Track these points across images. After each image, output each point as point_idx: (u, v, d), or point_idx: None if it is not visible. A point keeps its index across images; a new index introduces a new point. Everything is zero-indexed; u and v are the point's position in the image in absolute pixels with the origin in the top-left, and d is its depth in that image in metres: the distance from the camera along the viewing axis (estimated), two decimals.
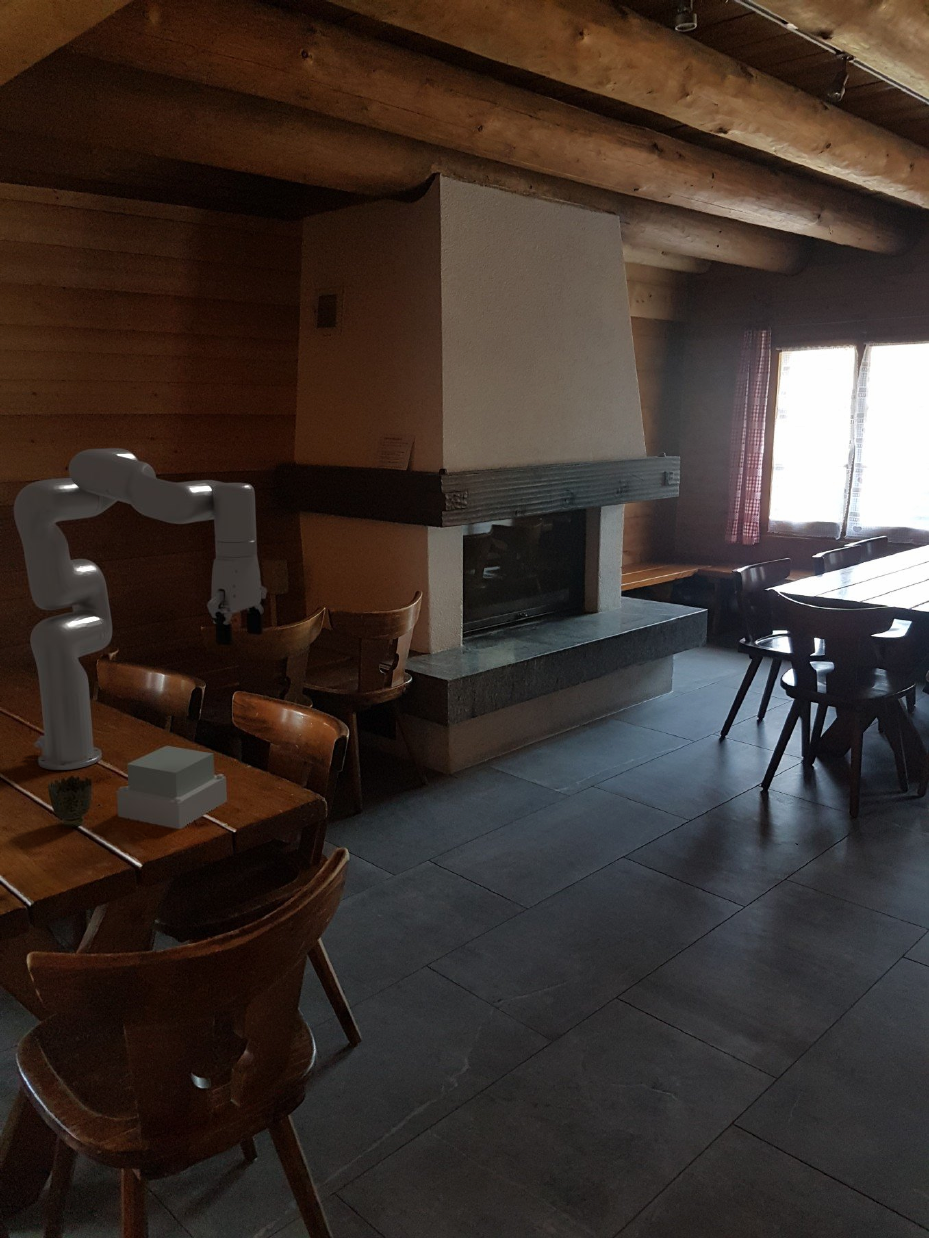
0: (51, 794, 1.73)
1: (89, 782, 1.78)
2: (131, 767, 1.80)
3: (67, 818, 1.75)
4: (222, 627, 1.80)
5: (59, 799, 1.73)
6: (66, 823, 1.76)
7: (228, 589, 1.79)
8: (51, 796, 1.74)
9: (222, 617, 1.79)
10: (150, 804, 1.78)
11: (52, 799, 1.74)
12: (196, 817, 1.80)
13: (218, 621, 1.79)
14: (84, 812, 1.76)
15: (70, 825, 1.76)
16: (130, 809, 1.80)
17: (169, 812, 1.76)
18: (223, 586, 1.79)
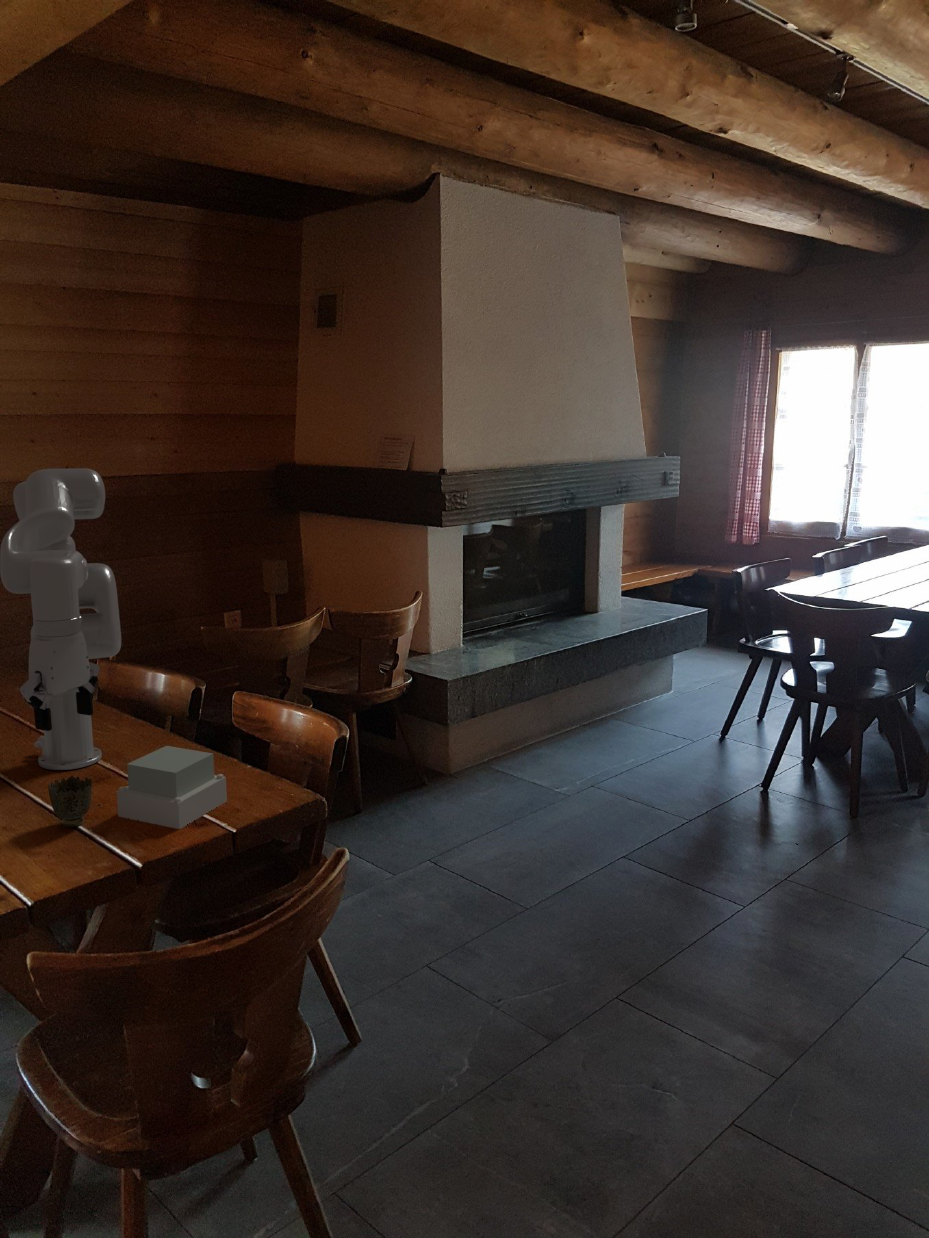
0: (51, 794, 1.73)
1: (89, 782, 1.78)
2: (131, 767, 1.80)
3: (67, 818, 1.75)
4: (40, 712, 1.67)
5: (59, 799, 1.73)
6: (66, 823, 1.76)
7: (45, 672, 1.66)
8: (51, 796, 1.74)
9: (38, 701, 1.66)
10: (150, 804, 1.78)
11: (52, 799, 1.74)
12: (196, 817, 1.80)
13: (34, 706, 1.66)
14: (84, 812, 1.76)
15: (70, 825, 1.76)
16: (130, 809, 1.80)
17: (169, 812, 1.76)
18: (40, 668, 1.66)
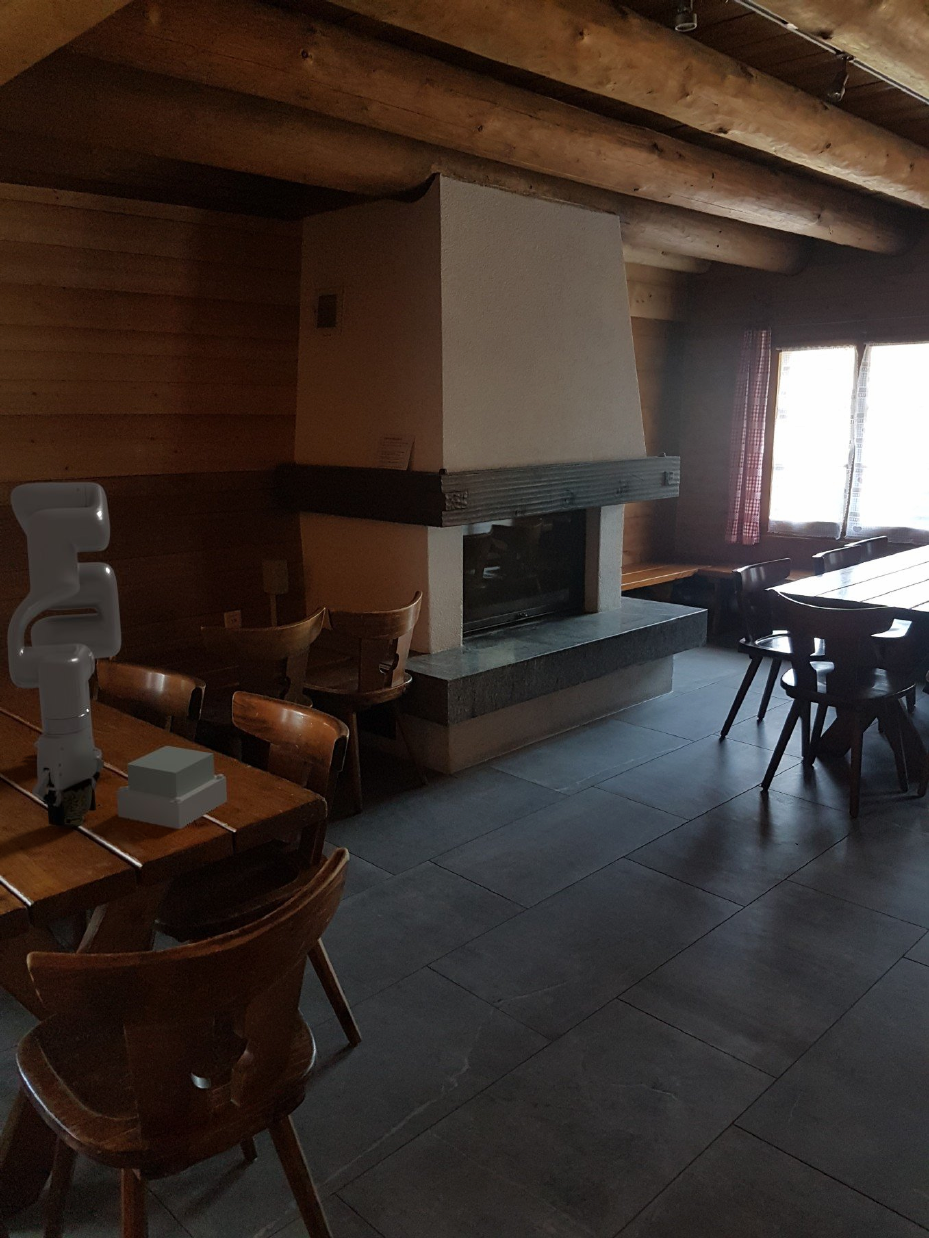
0: None
1: (89, 782, 1.78)
2: (131, 767, 1.80)
3: (67, 818, 1.75)
4: (53, 809, 1.72)
5: None
6: (66, 823, 1.76)
7: (53, 768, 1.70)
8: None
9: (52, 799, 1.71)
10: (150, 804, 1.78)
11: None
12: (196, 817, 1.80)
13: (48, 803, 1.71)
14: (84, 812, 1.76)
15: (70, 825, 1.76)
16: (130, 809, 1.80)
17: (169, 812, 1.76)
18: (47, 767, 1.70)
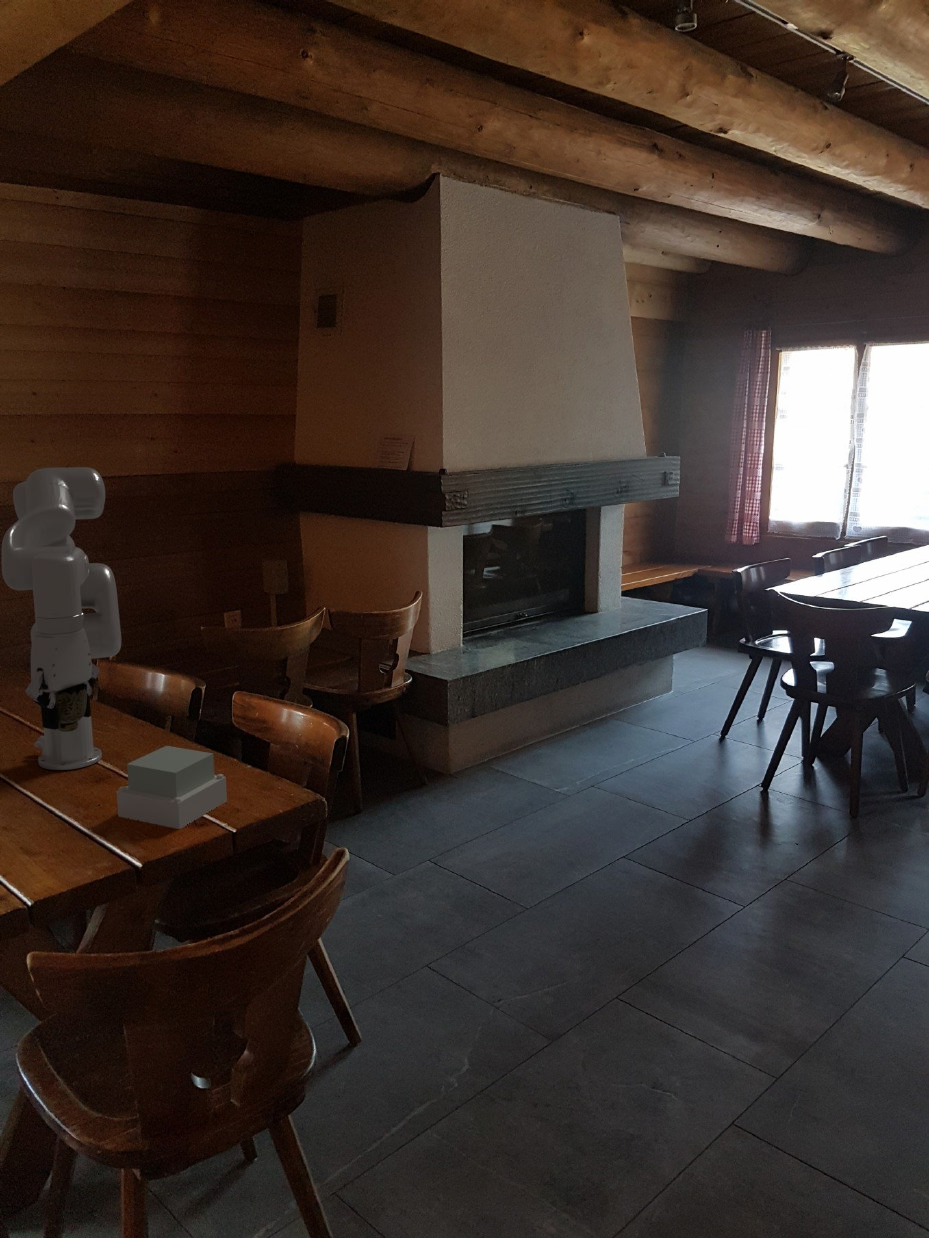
0: None
1: (84, 687, 1.75)
2: (131, 767, 1.80)
3: (61, 722, 1.71)
4: (47, 711, 1.69)
5: None
6: (60, 727, 1.72)
7: (47, 669, 1.67)
8: None
9: (46, 700, 1.68)
10: (150, 804, 1.78)
11: None
12: (196, 817, 1.80)
13: (41, 705, 1.68)
14: (79, 716, 1.72)
15: (64, 729, 1.72)
16: (130, 809, 1.80)
17: (169, 812, 1.76)
18: (41, 667, 1.67)
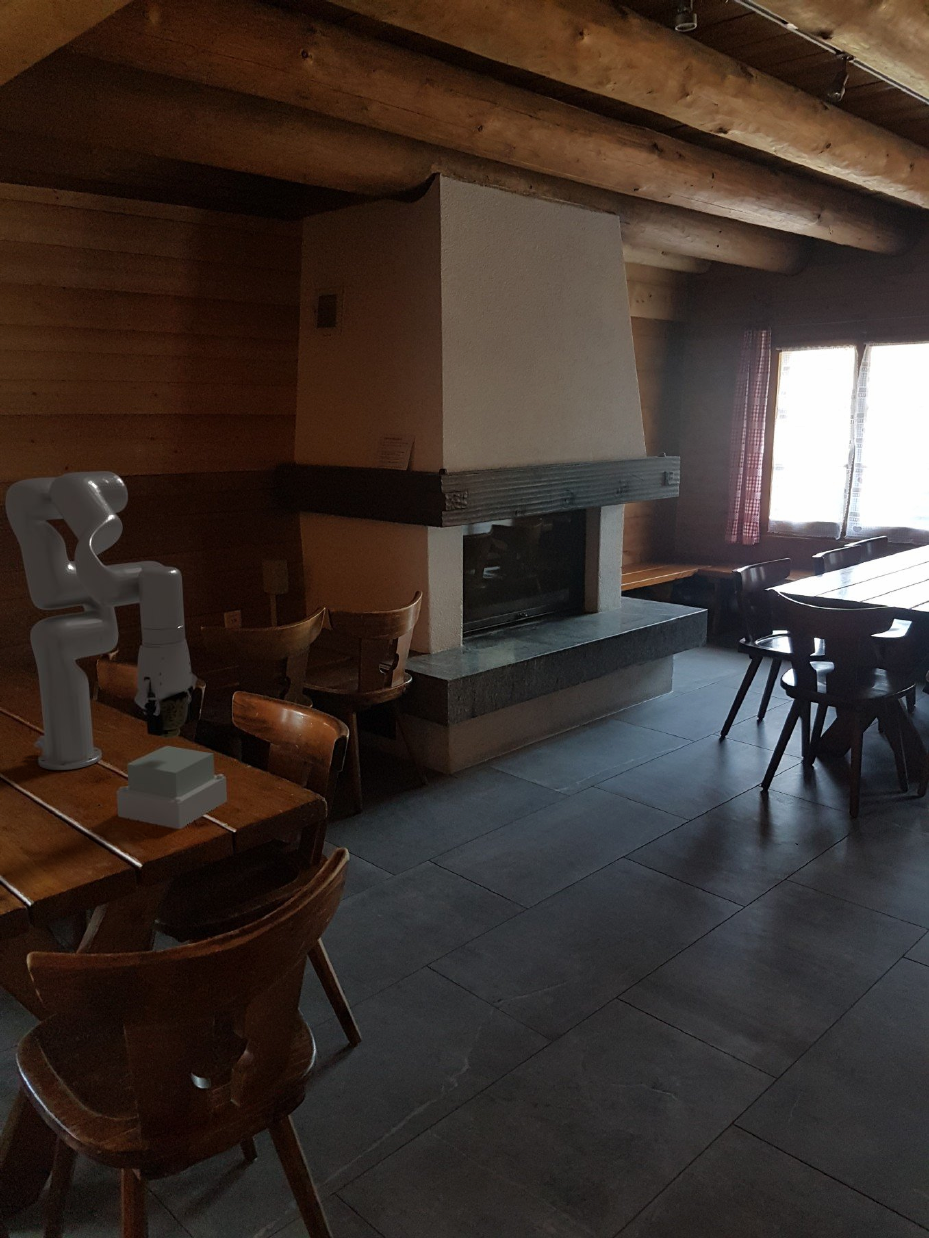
0: None
1: (185, 695, 1.82)
2: (131, 767, 1.80)
3: (165, 728, 1.79)
4: (153, 718, 1.76)
5: None
6: (164, 734, 1.80)
7: (154, 677, 1.74)
8: None
9: (152, 708, 1.75)
10: (150, 804, 1.78)
11: None
12: (196, 817, 1.80)
13: (148, 712, 1.76)
14: (181, 723, 1.80)
15: (168, 736, 1.80)
16: (130, 809, 1.80)
17: (169, 812, 1.76)
18: (148, 676, 1.74)
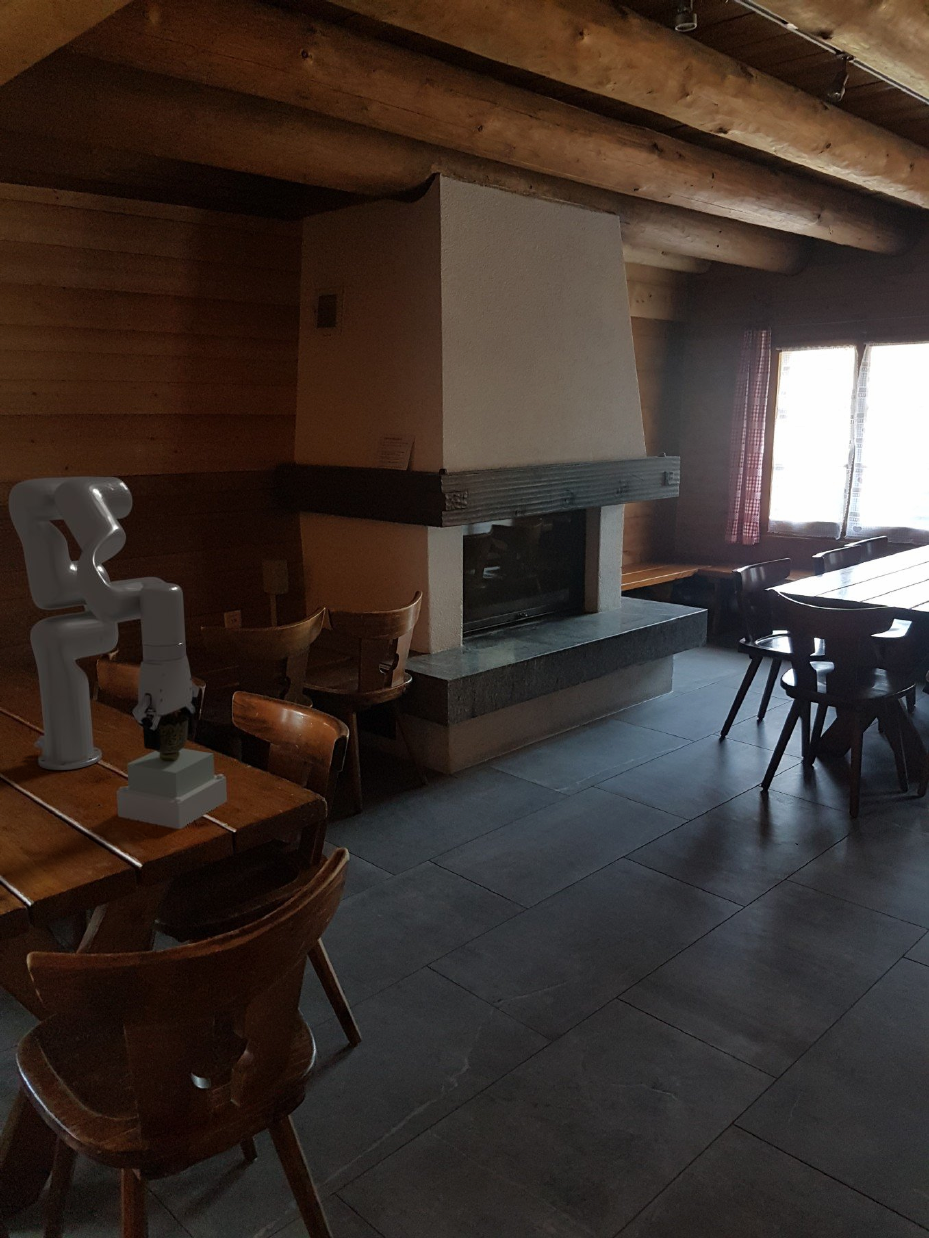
0: None
1: (185, 718, 1.83)
2: (131, 767, 1.80)
3: (165, 752, 1.80)
4: (150, 732, 1.76)
5: None
6: (164, 757, 1.81)
7: (155, 694, 1.75)
8: None
9: (149, 722, 1.75)
10: (150, 804, 1.78)
11: None
12: (196, 817, 1.80)
13: (145, 726, 1.75)
14: (181, 746, 1.81)
15: (167, 759, 1.81)
16: (130, 809, 1.80)
17: (169, 812, 1.76)
18: (149, 691, 1.75)
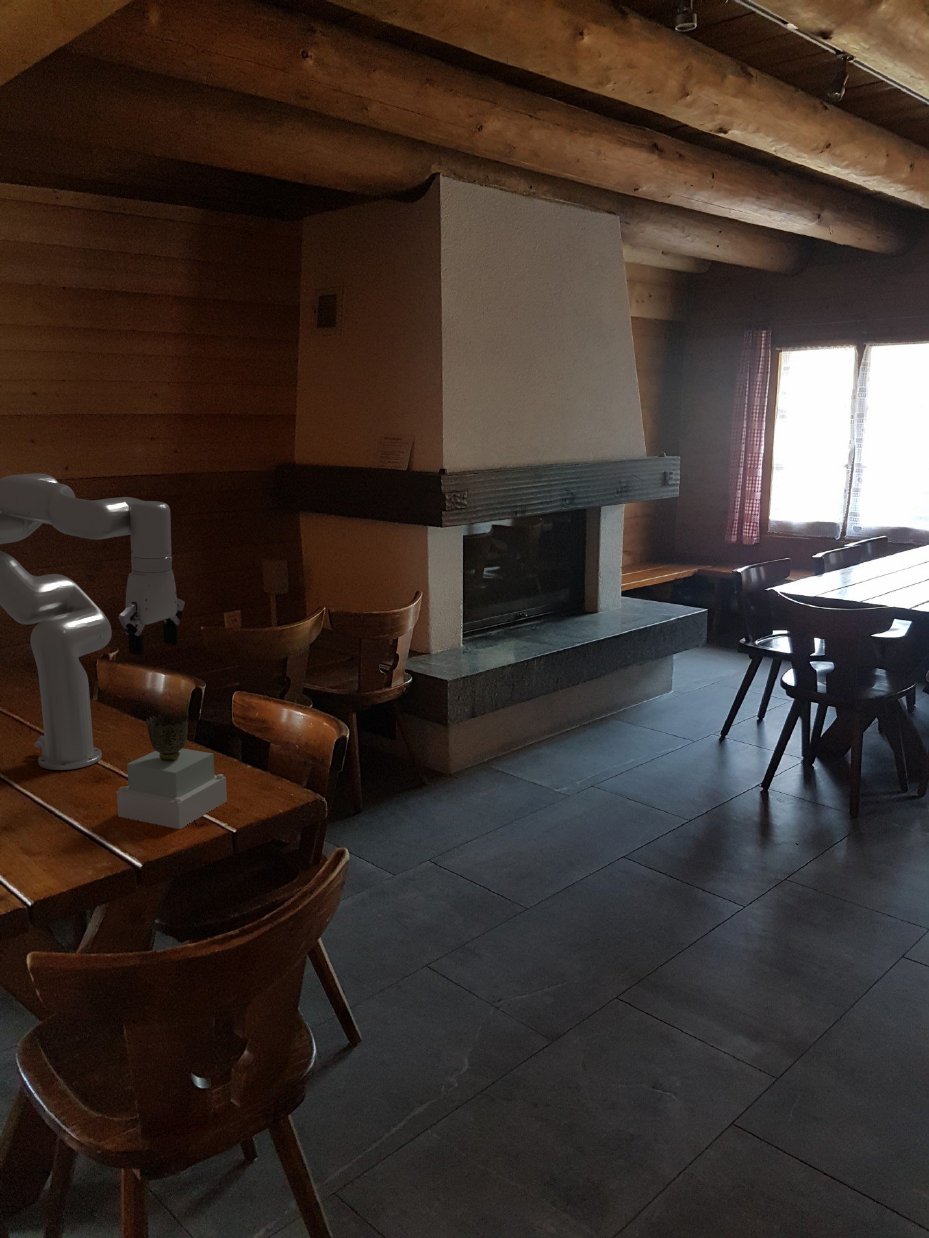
0: (150, 728, 1.78)
1: (185, 718, 1.83)
2: (131, 767, 1.80)
3: (165, 752, 1.80)
4: (134, 638, 1.90)
5: (158, 732, 1.78)
6: (164, 757, 1.81)
7: (140, 603, 1.89)
8: (150, 730, 1.79)
9: (133, 628, 1.89)
10: (150, 804, 1.78)
11: (151, 733, 1.79)
12: (196, 817, 1.80)
13: (129, 632, 1.89)
14: (181, 746, 1.81)
15: (167, 759, 1.81)
16: (130, 809, 1.80)
17: (169, 812, 1.76)
18: (136, 599, 1.89)
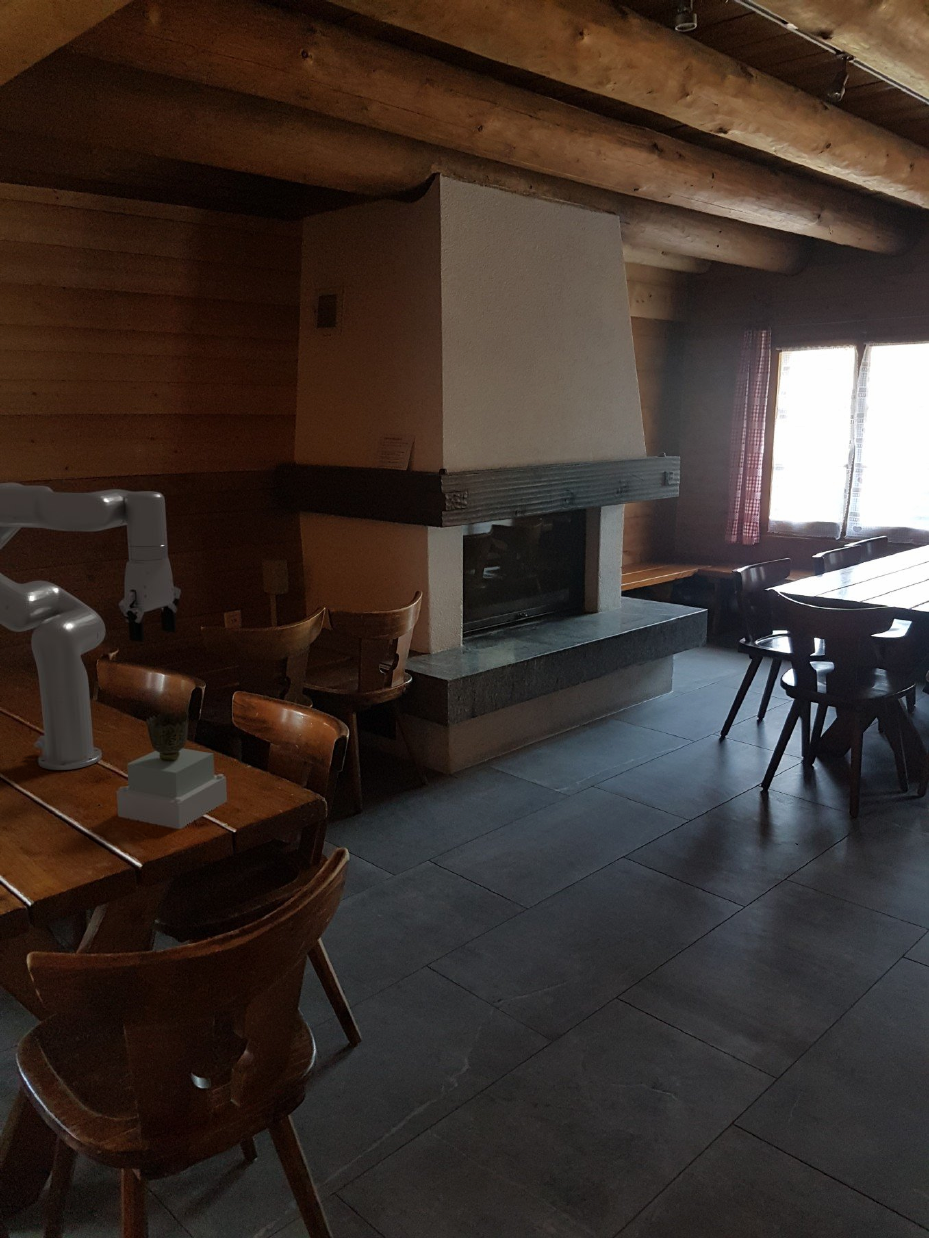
0: (150, 728, 1.78)
1: (185, 718, 1.83)
2: (131, 767, 1.80)
3: (165, 752, 1.80)
4: (134, 625, 1.94)
5: (158, 733, 1.78)
6: (164, 757, 1.81)
7: (139, 590, 1.94)
8: (150, 730, 1.79)
9: (134, 616, 1.94)
10: (150, 804, 1.78)
11: (151, 733, 1.79)
12: (196, 817, 1.80)
13: (130, 619, 1.94)
14: (181, 746, 1.81)
15: (167, 759, 1.81)
16: (130, 809, 1.80)
17: (169, 812, 1.76)
18: (134, 587, 1.94)
